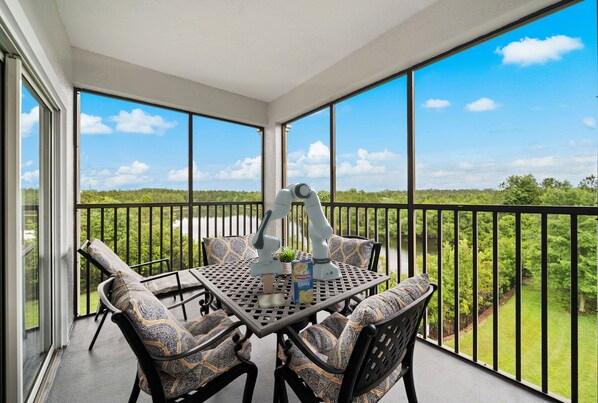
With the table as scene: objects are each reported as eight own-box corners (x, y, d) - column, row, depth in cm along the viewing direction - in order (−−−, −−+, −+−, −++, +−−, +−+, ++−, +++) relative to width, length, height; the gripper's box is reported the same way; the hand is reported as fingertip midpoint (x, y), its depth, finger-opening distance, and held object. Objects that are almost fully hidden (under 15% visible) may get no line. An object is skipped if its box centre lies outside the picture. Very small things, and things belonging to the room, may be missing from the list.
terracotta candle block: (271, 289, 161) (271, 273, 161) (273, 292, 156) (272, 276, 155) (263, 290, 160) (262, 274, 159) (264, 293, 154) (263, 277, 154)
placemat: (281, 295, 152) (281, 293, 152) (286, 305, 138) (286, 303, 138) (257, 297, 148) (257, 295, 148) (260, 308, 135) (260, 306, 135)
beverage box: (291, 298, 147) (291, 260, 146) (310, 296, 149) (309, 259, 148) (294, 303, 140) (293, 264, 139) (313, 301, 142) (313, 262, 142)
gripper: (249, 260, 161) (250, 280, 152) (281, 257, 166) (284, 277, 157) (249, 265, 166) (250, 285, 156) (280, 262, 171) (283, 282, 162)
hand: (268, 281), depth 157 cm, fingers closed on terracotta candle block, 5 cm apart
